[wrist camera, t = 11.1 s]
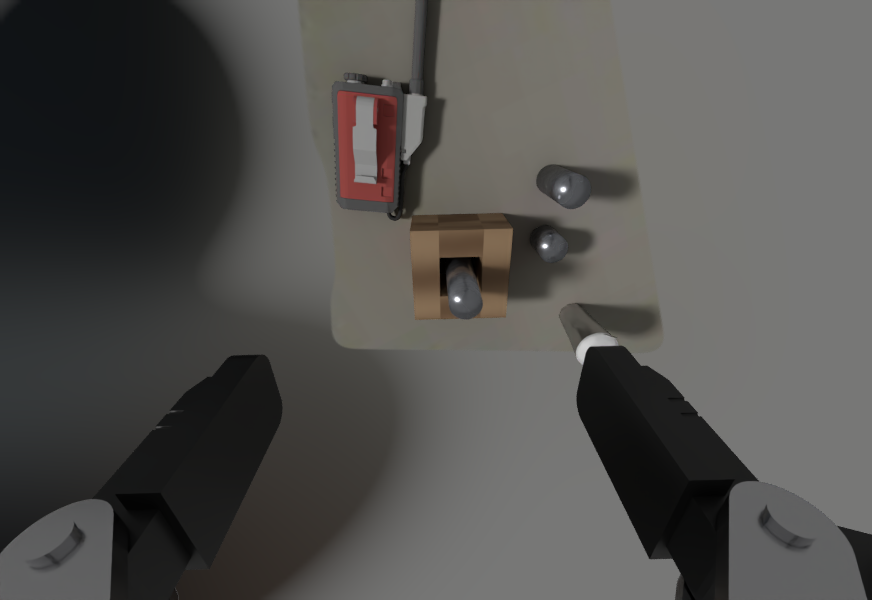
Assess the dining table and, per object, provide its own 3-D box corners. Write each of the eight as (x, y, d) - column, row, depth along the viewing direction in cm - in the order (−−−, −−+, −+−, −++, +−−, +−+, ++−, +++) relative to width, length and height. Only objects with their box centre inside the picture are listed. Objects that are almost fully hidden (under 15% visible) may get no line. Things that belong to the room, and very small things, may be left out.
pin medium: (538, 164, 37) (559, 175, 31) (566, 164, 37) (594, 174, 31) (534, 194, 38) (555, 209, 32) (562, 193, 38) (587, 208, 32)
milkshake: (596, 295, 44) (638, 340, 35) (581, 330, 47) (616, 381, 38) (562, 290, 44) (595, 334, 35) (549, 326, 46) (577, 376, 37)
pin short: (531, 225, 40) (541, 236, 36) (557, 224, 40) (570, 235, 36) (528, 250, 41) (538, 263, 38) (554, 249, 41) (565, 262, 38)
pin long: (443, 244, 41) (448, 289, 30) (469, 243, 41) (483, 289, 30) (444, 268, 42) (449, 319, 32) (469, 267, 42) (482, 318, 32)
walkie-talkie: (418, 219, 40) (435, -7, 30) (417, 230, 36) (436, -25, 27) (340, 211, 39) (333, -21, 30) (330, 222, 35) (319, -41, 26)
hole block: (412, 215, 39) (409, 231, 34) (501, 213, 39) (513, 228, 34) (417, 294, 44) (415, 319, 38) (496, 292, 44) (505, 317, 38)
